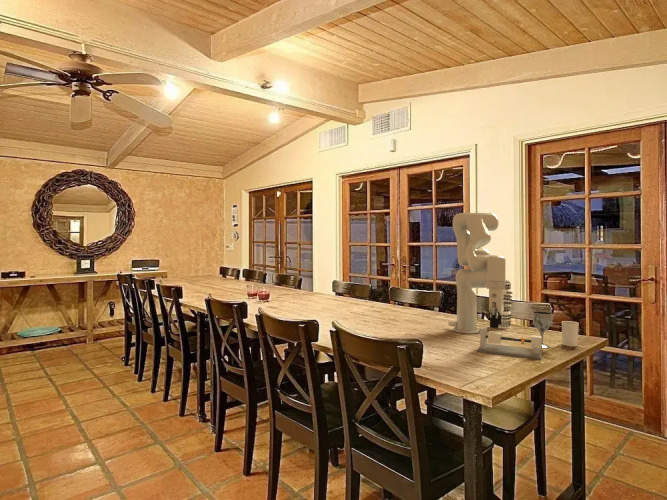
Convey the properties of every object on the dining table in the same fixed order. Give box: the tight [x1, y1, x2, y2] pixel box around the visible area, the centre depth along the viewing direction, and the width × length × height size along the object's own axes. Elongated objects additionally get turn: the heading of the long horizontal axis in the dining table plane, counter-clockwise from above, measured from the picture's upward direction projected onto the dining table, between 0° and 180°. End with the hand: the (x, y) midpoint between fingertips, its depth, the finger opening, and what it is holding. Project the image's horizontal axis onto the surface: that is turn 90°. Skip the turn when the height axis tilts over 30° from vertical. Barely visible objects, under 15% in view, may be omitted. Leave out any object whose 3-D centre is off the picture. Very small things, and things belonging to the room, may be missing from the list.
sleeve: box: [487, 330, 503, 345], centre depth 184 cm, size 5×4×4 cm
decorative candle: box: [497, 279, 513, 330], centre depth 231 cm, size 9×9×25 cm
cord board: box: [477, 326, 543, 360], centre depth 182 cm, size 24×12×9 cm, turn 63°
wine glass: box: [531, 310, 553, 349], centre depth 191 cm, size 8×8×15 cm
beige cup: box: [561, 320, 579, 347], centre depth 194 cm, size 7×7×10 cm
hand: (495, 325), depth 184 cm, fingers open, 9 cm apart
